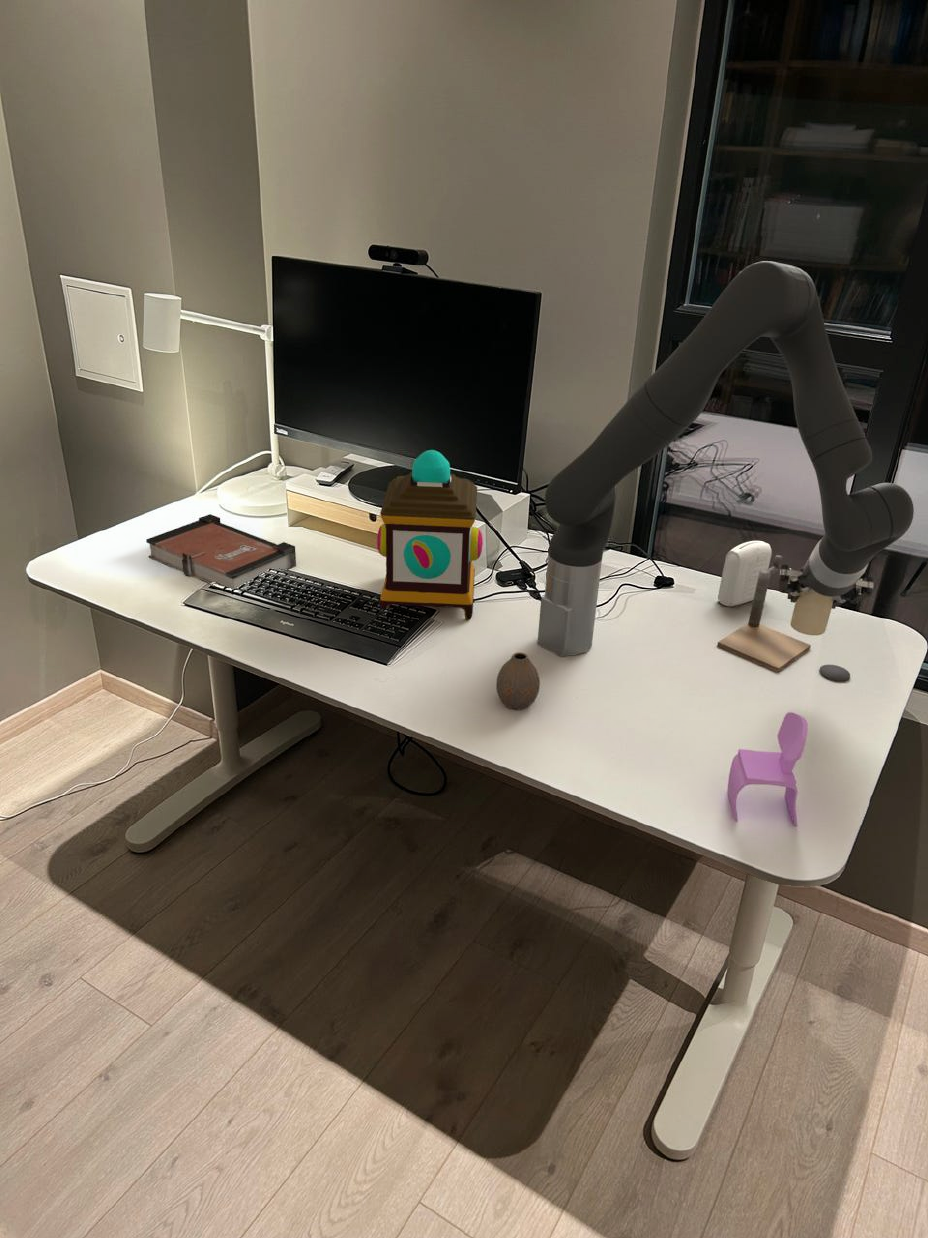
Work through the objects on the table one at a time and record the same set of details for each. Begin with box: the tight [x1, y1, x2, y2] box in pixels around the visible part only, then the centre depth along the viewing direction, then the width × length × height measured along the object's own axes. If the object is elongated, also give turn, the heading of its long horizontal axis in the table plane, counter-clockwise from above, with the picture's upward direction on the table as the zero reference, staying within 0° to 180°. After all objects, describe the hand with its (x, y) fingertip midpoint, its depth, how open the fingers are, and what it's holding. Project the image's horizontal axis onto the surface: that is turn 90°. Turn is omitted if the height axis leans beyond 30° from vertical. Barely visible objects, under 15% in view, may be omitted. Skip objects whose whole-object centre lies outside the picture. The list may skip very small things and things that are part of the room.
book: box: [145, 513, 297, 590], centre depth 185 cm, size 26×18×5 cm
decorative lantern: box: [376, 449, 484, 621], centre depth 168 cm, size 20×20×30 cm
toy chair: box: [727, 711, 809, 827], centre depth 120 cm, size 8×9×15 cm
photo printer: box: [717, 540, 772, 607], centre depth 177 cm, size 10×4×12 cm, turn 123°
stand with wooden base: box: [716, 554, 812, 673], centre depth 161 cm, size 16×12×14 cm
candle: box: [790, 592, 834, 636], centre depth 144 cm, size 6×6×10 cm
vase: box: [495, 651, 541, 710], centre depth 142 cm, size 7×7×9 cm
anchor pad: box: [818, 664, 851, 683], centre depth 156 cm, size 5×5×1 cm
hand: (812, 599), depth 146 cm, fingers closed on candle, 5 cm apart
